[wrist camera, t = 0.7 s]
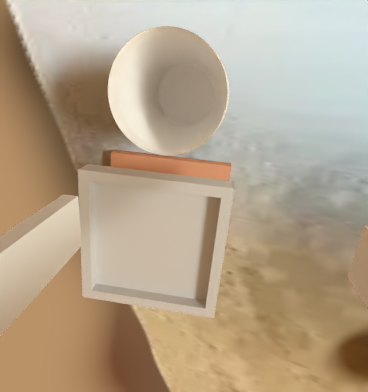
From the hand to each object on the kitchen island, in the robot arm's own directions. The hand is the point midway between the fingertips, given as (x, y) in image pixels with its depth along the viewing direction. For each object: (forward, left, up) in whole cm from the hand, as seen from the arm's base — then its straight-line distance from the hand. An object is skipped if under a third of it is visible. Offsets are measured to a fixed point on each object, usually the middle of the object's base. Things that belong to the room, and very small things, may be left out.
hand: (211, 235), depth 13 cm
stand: (+8, -5, -21) cm, 23 cm away
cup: (-6, -4, -21) cm, 23 cm away
